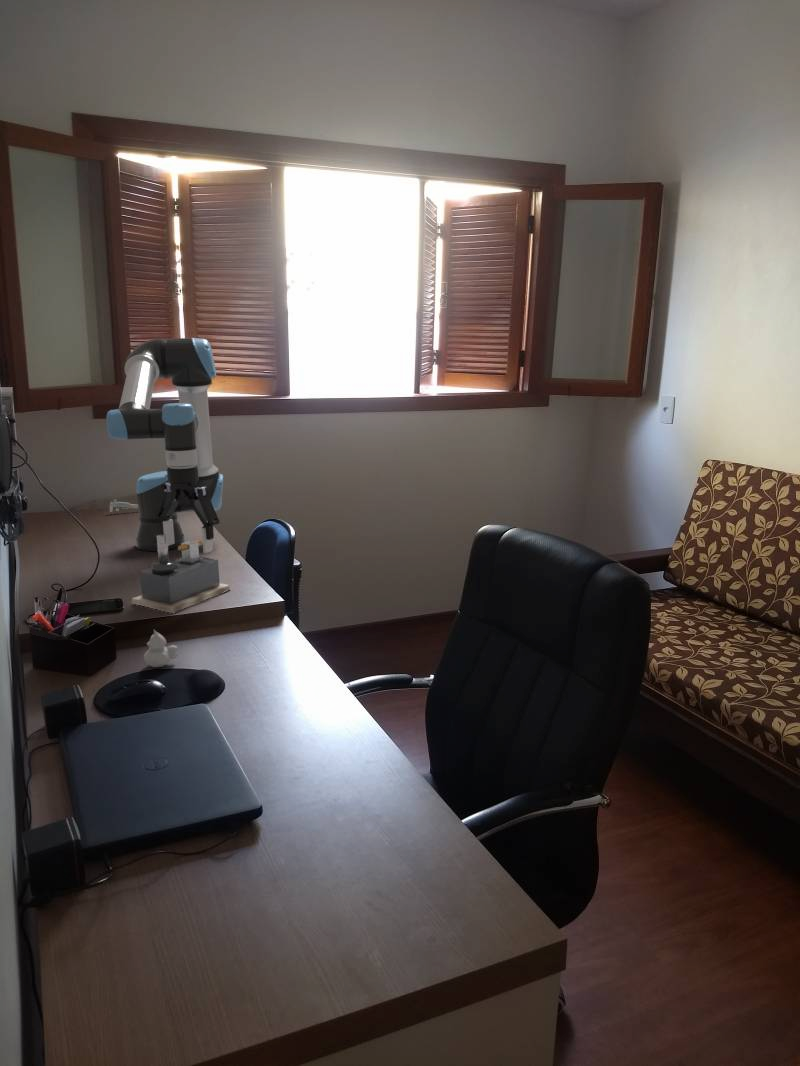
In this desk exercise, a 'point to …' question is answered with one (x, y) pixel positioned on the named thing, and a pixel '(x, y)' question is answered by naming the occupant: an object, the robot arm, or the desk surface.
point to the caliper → (121, 505)
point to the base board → (182, 603)
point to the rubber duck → (159, 651)
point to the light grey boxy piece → (190, 552)
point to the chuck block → (177, 577)
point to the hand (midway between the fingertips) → (188, 548)
